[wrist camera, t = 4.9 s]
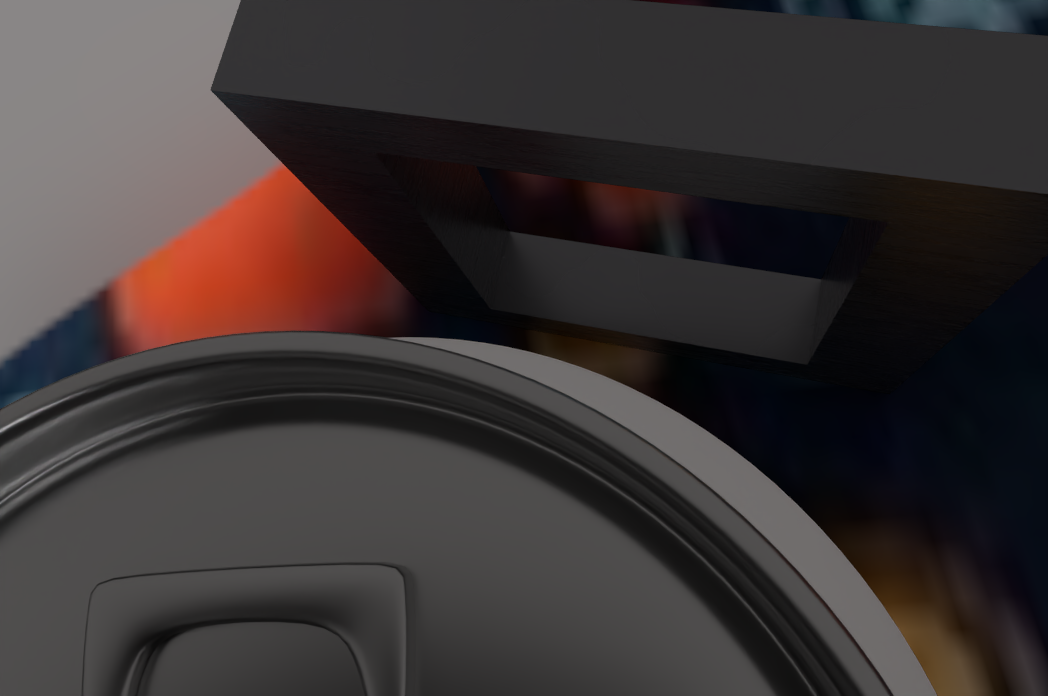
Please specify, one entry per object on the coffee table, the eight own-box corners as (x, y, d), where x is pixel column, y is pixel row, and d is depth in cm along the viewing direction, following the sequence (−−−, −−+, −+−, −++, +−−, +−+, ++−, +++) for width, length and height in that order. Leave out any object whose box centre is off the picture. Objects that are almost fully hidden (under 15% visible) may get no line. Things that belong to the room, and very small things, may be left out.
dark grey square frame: (889, 394, 15) (1106, 201, 7) (428, 310, 17) (210, 90, 9) (901, 312, 15) (1121, 42, 7) (447, 239, 17) (251, -33, 9)
